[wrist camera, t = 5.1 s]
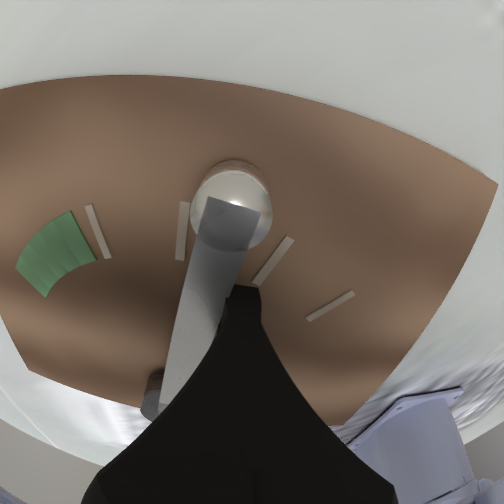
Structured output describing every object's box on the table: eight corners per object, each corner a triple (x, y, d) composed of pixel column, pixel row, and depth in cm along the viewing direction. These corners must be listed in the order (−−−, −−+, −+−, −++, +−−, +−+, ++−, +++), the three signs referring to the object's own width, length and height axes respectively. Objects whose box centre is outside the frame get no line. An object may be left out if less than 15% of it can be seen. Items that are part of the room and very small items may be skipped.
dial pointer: (197, 404, 13) (194, 433, 12) (146, 391, 13) (139, 420, 11) (294, 176, 7) (306, 199, 6) (194, 145, 7) (179, 159, 5)
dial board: (340, 412, 17) (343, 425, 16) (34, 359, 14) (28, 370, 13) (483, 175, 8) (500, 185, 7) (-24, 97, 6) (-40, 101, 5)
